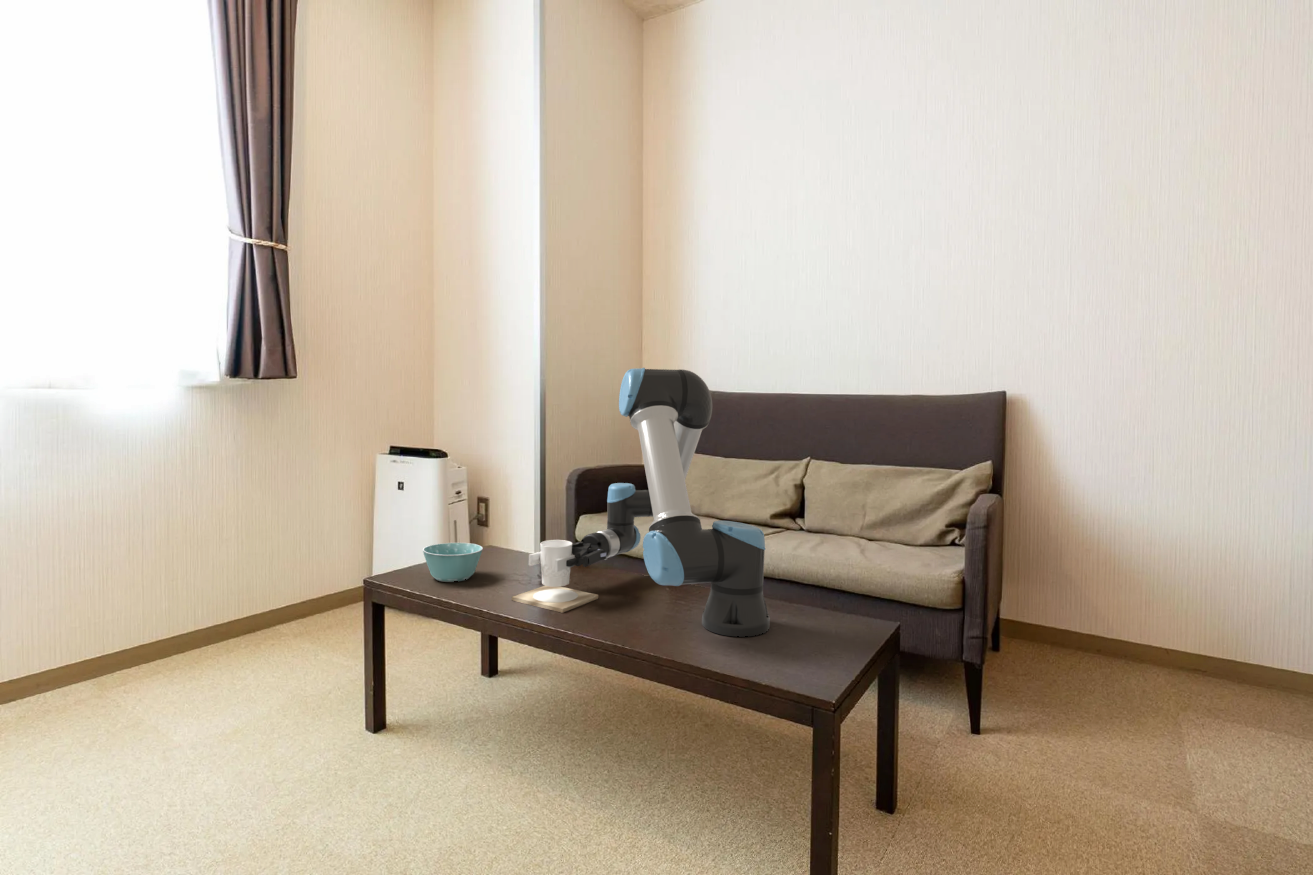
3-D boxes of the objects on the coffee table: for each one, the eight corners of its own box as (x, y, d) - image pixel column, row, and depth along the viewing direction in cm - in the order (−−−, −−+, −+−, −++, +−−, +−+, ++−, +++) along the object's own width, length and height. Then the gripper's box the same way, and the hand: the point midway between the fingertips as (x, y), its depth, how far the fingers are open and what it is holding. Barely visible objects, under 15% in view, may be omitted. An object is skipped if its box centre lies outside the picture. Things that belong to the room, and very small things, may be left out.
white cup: (574, 579, 180) (575, 540, 179) (567, 588, 172) (568, 547, 171) (544, 577, 180) (544, 538, 180) (535, 586, 173) (536, 546, 172)
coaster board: (598, 598, 178) (598, 594, 178) (562, 612, 166) (562, 608, 166) (549, 587, 186) (549, 583, 186) (511, 600, 174) (511, 596, 174)
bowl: (450, 567, 204) (450, 539, 203) (494, 575, 197) (494, 545, 196) (409, 580, 190) (409, 550, 189) (455, 589, 183) (455, 557, 182)
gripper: (630, 565, 186) (576, 585, 166) (569, 553, 196) (511, 571, 177) (631, 537, 185) (576, 554, 166) (569, 527, 196) (511, 541, 176)
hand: (542, 563), depth 171 cm, fingers closed on white cup, 8 cm apart
